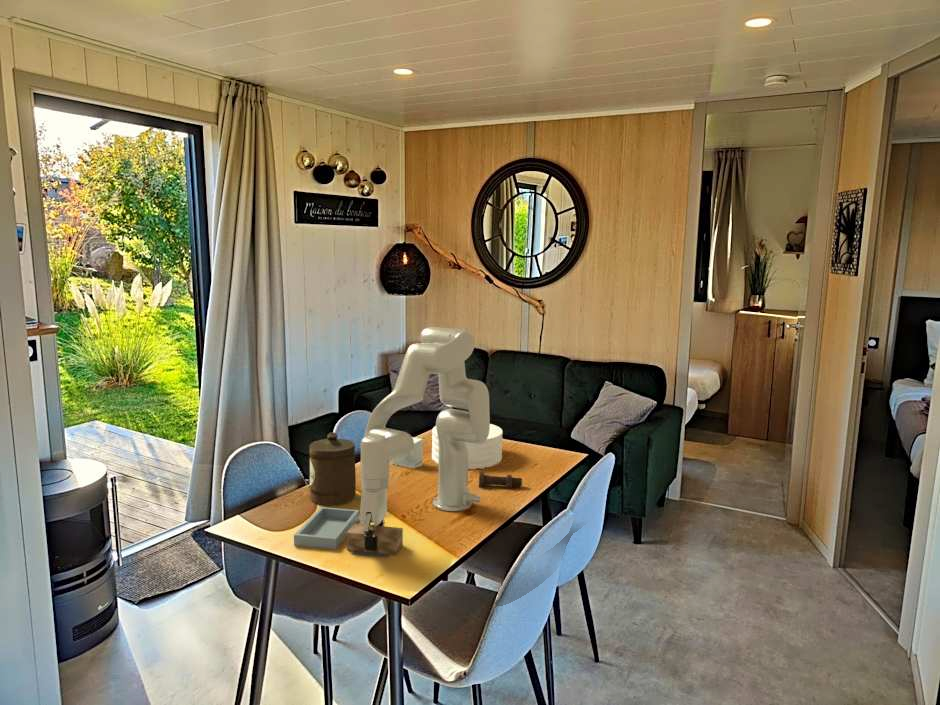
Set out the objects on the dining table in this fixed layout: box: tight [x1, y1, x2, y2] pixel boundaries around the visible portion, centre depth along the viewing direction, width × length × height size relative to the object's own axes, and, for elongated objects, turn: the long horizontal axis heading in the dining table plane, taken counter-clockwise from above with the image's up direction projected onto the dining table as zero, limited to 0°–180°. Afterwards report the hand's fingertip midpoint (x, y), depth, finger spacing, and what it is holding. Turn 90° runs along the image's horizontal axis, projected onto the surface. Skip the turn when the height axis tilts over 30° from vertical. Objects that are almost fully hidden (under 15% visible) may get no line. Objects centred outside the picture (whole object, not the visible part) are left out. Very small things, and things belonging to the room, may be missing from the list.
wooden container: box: [309, 431, 357, 506], centre depth 215 cm, size 15×15×22 cm
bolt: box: [478, 470, 523, 489], centre depth 229 cm, size 6×5×15 cm
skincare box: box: [391, 436, 424, 470], centre depth 250 cm, size 10×6×10 cm, turn 63°
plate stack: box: [431, 423, 504, 470], centre depth 260 cm, size 28×28×12 cm
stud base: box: [351, 550, 390, 559], centre depth 179 cm, size 10×10×4 cm
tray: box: [293, 506, 360, 550], centre depth 188 cm, size 12×20×4 cm, turn 171°
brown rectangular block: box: [346, 523, 404, 556], centre depth 178 cm, size 14×6×5 cm, turn 80°
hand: (374, 543), depth 179 cm, fingers closed on brown rectangular block, 6 cm apart
